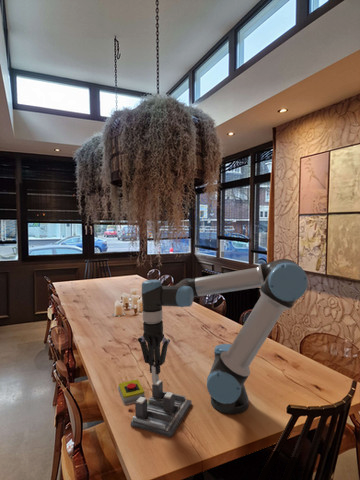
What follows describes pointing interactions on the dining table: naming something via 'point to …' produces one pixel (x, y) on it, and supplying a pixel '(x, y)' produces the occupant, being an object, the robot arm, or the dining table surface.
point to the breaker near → (141, 408)
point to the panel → (162, 416)
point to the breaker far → (157, 389)
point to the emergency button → (130, 391)
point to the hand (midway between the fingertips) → (155, 381)
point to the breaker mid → (168, 402)
